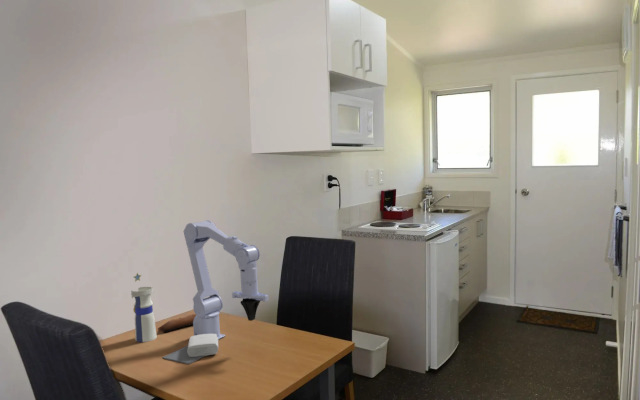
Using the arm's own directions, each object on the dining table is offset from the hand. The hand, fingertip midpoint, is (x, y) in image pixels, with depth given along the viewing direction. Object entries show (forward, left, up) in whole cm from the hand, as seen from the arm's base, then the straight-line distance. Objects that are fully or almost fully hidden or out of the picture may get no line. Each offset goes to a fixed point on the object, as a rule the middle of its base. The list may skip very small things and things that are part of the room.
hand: (251, 319), depth 163 cm
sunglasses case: (-44, +9, -11) cm, 46 cm away
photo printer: (-11, -13, -8) cm, 19 cm away
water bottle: (-46, -8, -11) cm, 48 cm away
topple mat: (-18, -13, -10) cm, 24 cm away
